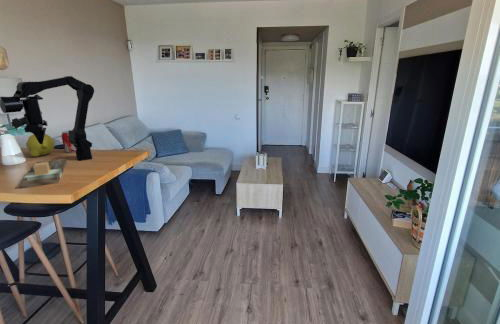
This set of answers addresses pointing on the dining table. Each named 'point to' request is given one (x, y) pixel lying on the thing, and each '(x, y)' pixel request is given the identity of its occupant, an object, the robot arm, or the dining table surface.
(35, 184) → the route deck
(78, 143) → the robot arm
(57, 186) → the dining table surface
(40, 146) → the sculpture
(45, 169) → the block
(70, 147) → the soda can
